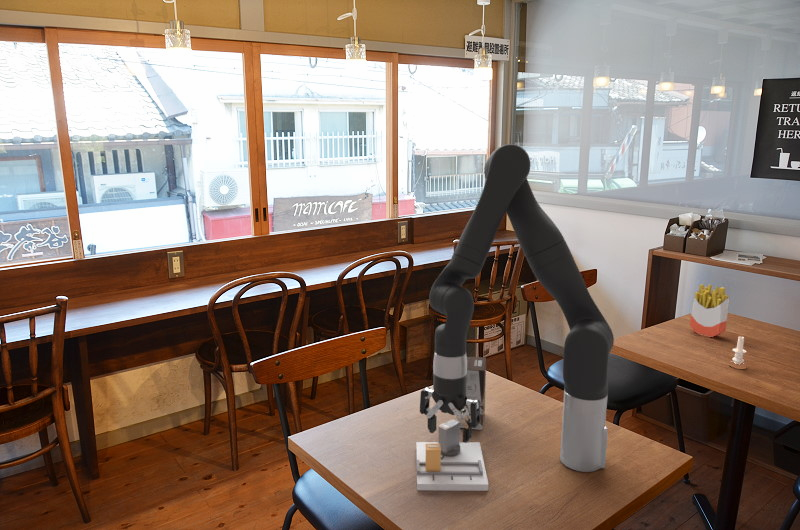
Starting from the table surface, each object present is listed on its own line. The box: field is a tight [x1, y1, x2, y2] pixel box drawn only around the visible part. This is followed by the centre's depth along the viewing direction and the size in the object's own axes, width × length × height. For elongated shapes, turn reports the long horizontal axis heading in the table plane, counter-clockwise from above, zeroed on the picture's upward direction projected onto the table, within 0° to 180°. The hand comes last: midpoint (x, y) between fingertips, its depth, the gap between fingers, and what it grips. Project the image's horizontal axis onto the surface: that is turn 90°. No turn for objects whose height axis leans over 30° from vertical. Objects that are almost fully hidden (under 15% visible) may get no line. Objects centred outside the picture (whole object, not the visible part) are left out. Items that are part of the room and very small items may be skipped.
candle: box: [732, 335, 747, 365], centre depth 188 cm, size 5×5×10 cm
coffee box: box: [457, 356, 487, 431], centre depth 154 cm, size 9×6×16 cm
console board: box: [415, 441, 489, 492], centre depth 135 cm, size 15×17×2 cm
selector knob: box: [438, 418, 461, 456], centre depth 138 cm, size 5×5×7 cm
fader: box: [426, 444, 441, 472], centre depth 131 cm, size 3×3×5 cm
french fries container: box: [689, 284, 730, 338], centre depth 215 cm, size 5×11×18 cm, turn 33°
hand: (449, 436), depth 138 cm, fingers open, 8 cm apart
